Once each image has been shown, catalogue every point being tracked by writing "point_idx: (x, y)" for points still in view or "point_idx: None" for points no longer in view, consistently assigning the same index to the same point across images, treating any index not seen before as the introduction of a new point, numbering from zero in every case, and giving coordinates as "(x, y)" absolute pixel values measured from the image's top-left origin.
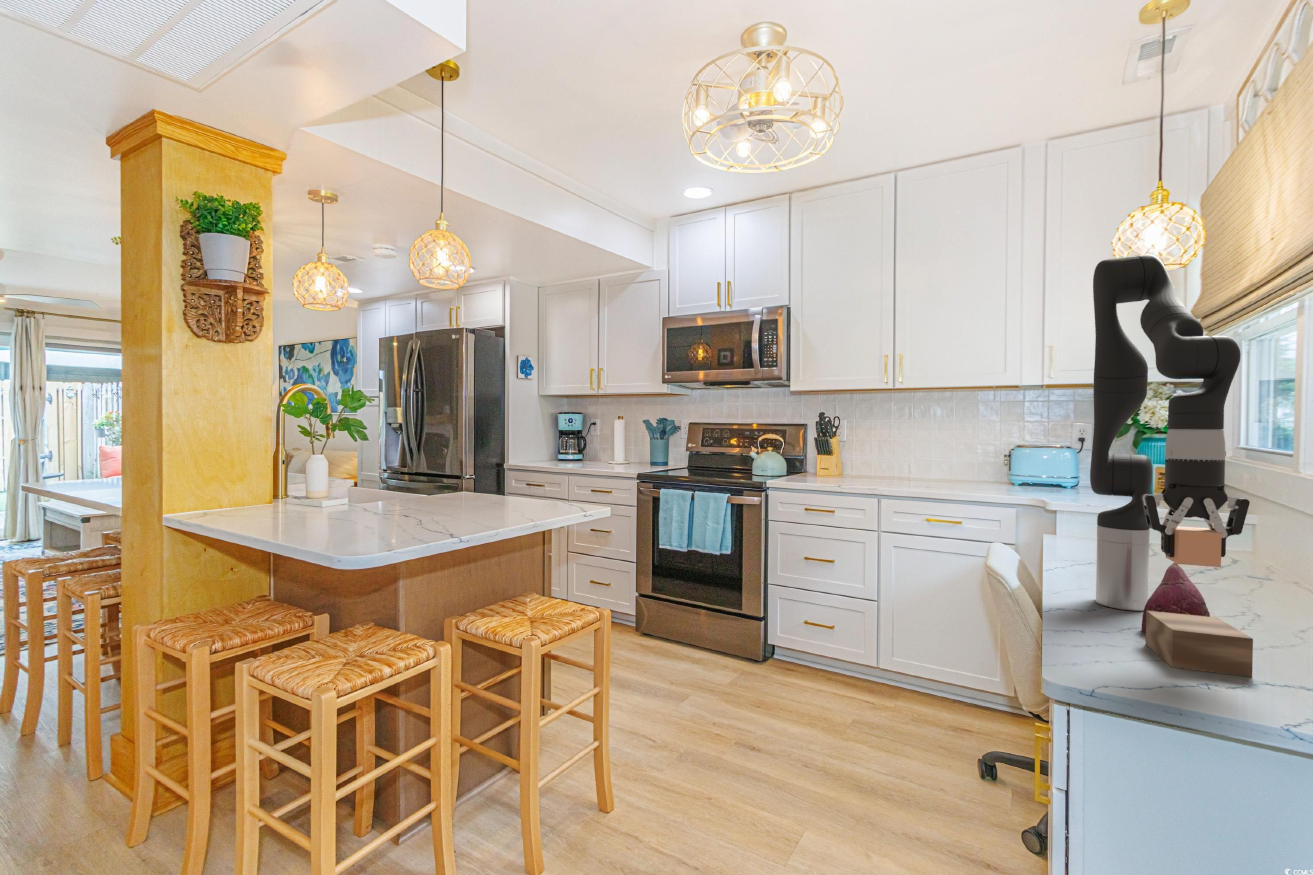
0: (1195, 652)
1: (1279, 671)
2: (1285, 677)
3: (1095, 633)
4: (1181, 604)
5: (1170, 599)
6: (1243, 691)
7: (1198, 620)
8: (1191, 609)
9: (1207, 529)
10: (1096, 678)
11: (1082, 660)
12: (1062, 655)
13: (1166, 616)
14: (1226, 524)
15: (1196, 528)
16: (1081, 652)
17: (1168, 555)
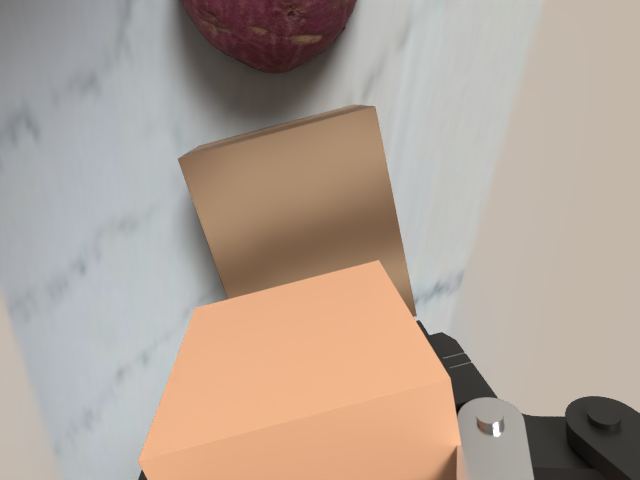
0: None
1: (452, 188)
2: (451, 229)
3: (70, 120)
4: (281, 25)
5: (245, 9)
6: None
7: (317, 195)
8: (311, 24)
9: (435, 463)
10: (138, 470)
11: (95, 387)
12: (53, 381)
13: (235, 206)
14: (604, 461)
15: (362, 465)
16: (81, 332)
17: None
